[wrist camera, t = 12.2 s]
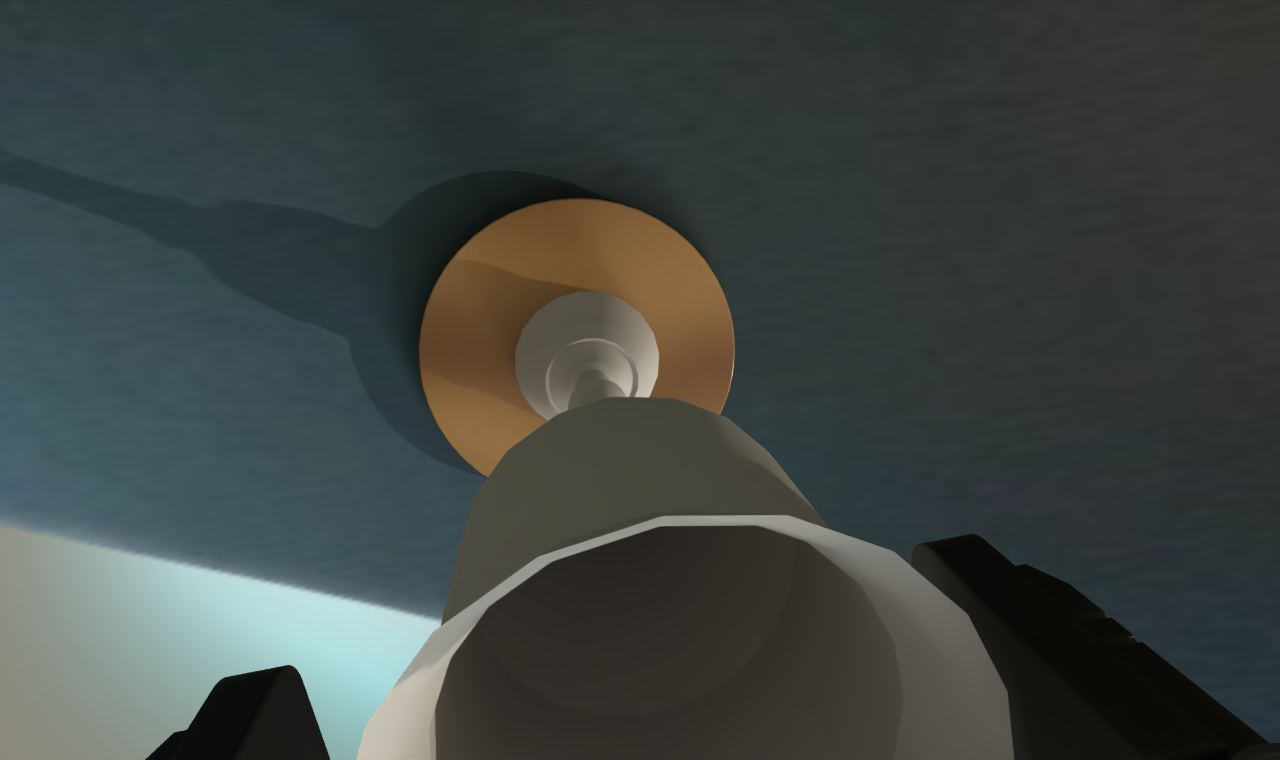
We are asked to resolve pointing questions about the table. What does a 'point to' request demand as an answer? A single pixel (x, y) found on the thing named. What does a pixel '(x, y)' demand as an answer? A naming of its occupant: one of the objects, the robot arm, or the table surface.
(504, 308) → the coaster
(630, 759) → the chalice
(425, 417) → the table surface
